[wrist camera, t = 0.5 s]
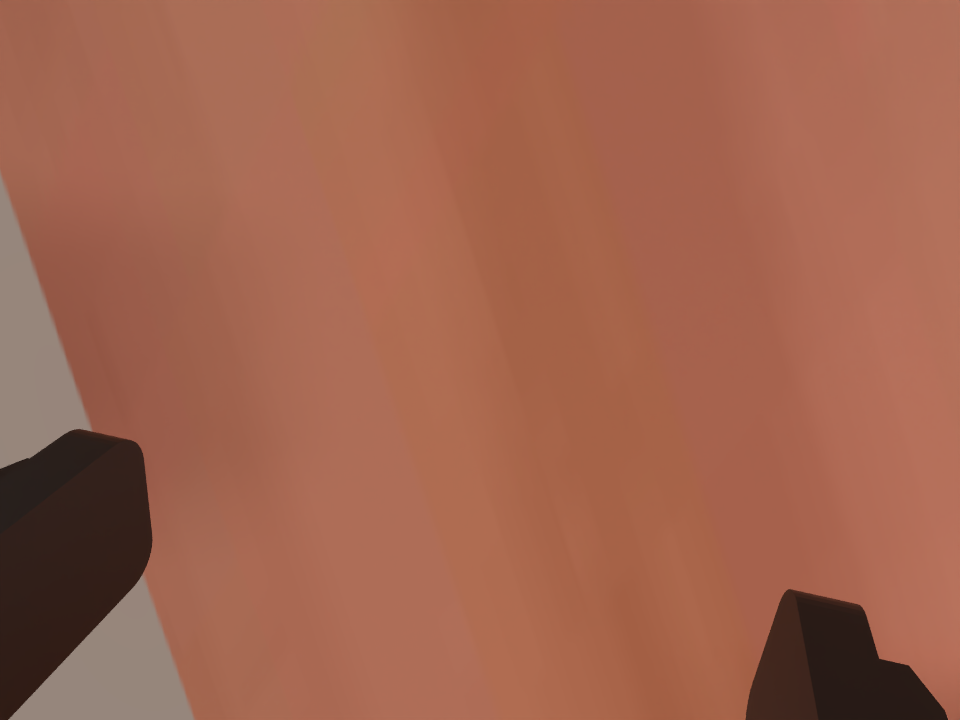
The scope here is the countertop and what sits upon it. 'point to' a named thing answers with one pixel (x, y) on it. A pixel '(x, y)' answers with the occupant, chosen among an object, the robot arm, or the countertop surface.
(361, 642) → the countertop surface
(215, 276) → the countertop surface
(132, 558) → the robot arm
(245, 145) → the countertop surface
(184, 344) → the countertop surface
